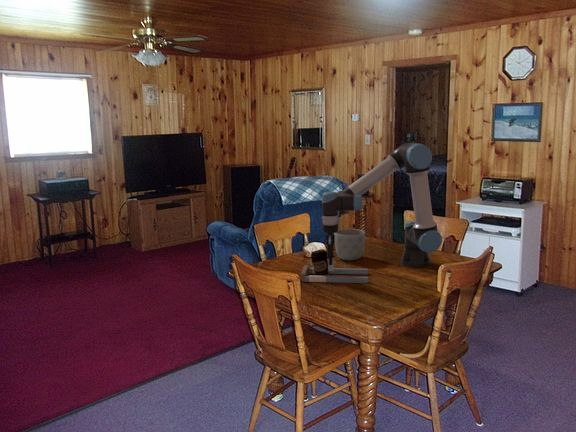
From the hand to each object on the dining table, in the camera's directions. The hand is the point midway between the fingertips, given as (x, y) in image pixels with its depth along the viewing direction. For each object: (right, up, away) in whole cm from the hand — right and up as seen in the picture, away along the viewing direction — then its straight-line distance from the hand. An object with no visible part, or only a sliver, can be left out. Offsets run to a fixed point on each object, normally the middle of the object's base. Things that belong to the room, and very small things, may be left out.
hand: (331, 270), depth 259 cm
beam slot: (+3, -3, 0) cm, 5 cm away
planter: (+13, +3, +34) cm, 36 cm away
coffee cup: (-4, -3, +1) cm, 5 cm away
